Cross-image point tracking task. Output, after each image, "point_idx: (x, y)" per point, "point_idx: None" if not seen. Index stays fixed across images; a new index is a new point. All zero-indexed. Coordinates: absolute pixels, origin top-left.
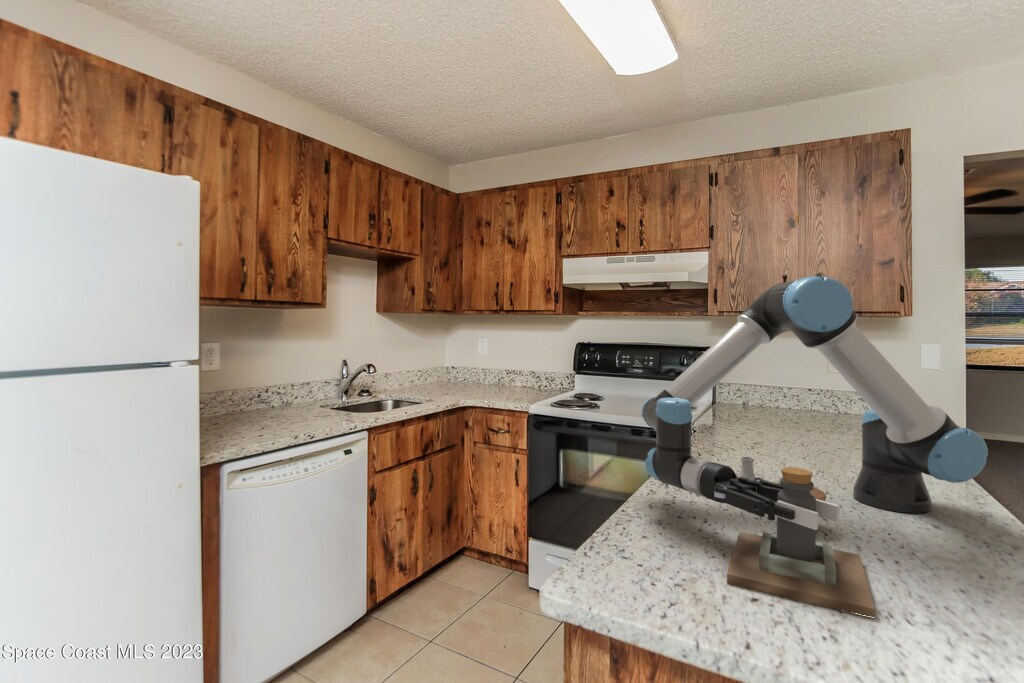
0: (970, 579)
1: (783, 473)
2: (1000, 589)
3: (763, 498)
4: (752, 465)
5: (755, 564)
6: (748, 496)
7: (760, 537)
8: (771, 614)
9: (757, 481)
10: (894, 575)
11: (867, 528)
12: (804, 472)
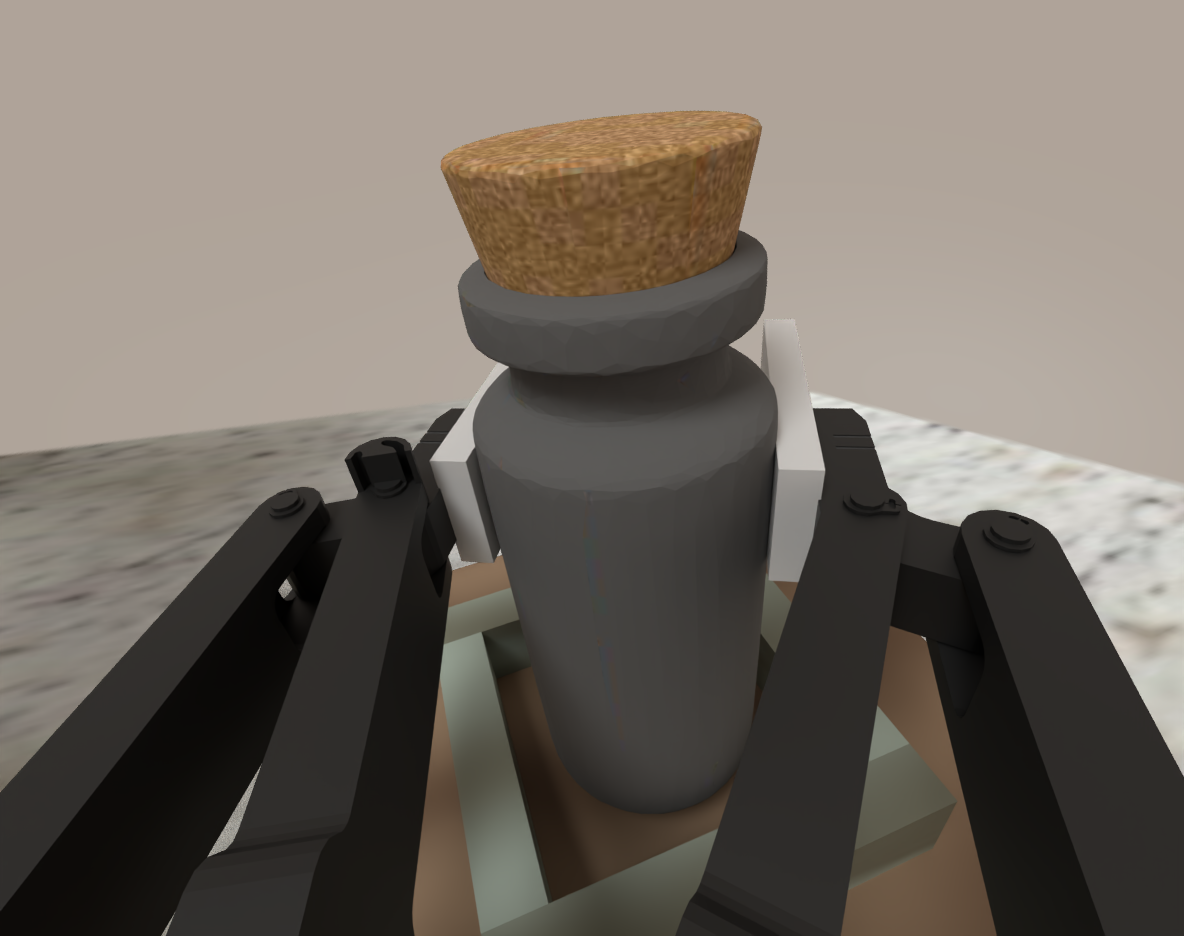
0: (296, 460)
1: (734, 173)
2: (327, 428)
3: (869, 574)
4: None
5: (896, 902)
6: (1049, 705)
7: None
8: (1129, 668)
9: None
10: None
11: None
12: (604, 121)
